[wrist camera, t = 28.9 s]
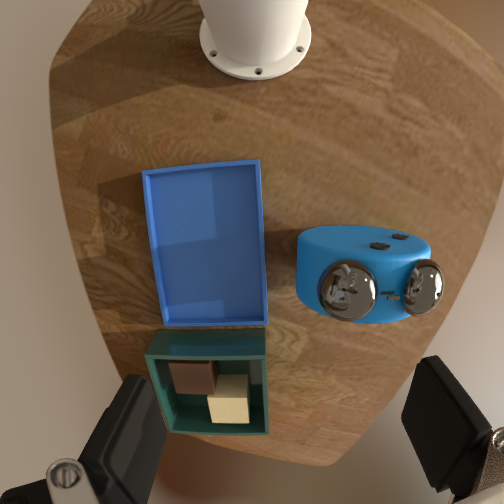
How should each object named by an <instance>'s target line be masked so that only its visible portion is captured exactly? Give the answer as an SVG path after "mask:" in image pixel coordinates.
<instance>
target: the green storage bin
mask: <svg viewBox="0 0 504 504" xmlns="http://www.w3.org/2000/svg"><path fill="white" fill-rule="evenodd" d="M144 356H145V360H146V363H147V367H148V370H149V374H150V377H151V380H152V383H153V387H154V390H155V393H156V396H157V399H158V402H159V405H160V408H161V411H162V414H163V416H164V419H165V422H166V425H167V427H168V430H169V432H174V433H184V434H200V435H228V436H250V435H270V427H269V395H268V373H267V352H266V331H265V328H253V329H220V330H158V331H157V333H156V335H155V336H154V338H153V340H152V342H151V343H150V345H149V347H148V348H147V350H146V352H145V354H144ZM169 360H217V361H218V368H219V374H248V377H249V390H250V416H249V423H212V419H211V415H210V410H209V405H208V400H207V396H208V395H201V394H178V393H176V391H175V387H174V383H173V380H172V376H171V372H170V368H169V364H168V363H169Z"/></svg>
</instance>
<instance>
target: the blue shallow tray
mask: <svg viewBox="0 0 504 504" xmlns="http://www.w3.org/2000/svg"><path fill="white" fill-rule="evenodd" d="M142 180H143V191H144V201H145V210H146V219H147V227H148V235H149V242H150V249H151V256H152V262H153V269H154V275H155V281H156V286H157V292H158V298H159V303H160V308H161V313H162V318H163V323H164V326H241V325H265V324H268V305H267V284H266V264H265V245H264V226H263V208H262V191H261V174H260V160H259V159H257V160H241V161H227V162H215V163H205V164H195V165H185V166H176V167H168V168H160V169H153V170H145V171H142Z"/></svg>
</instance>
